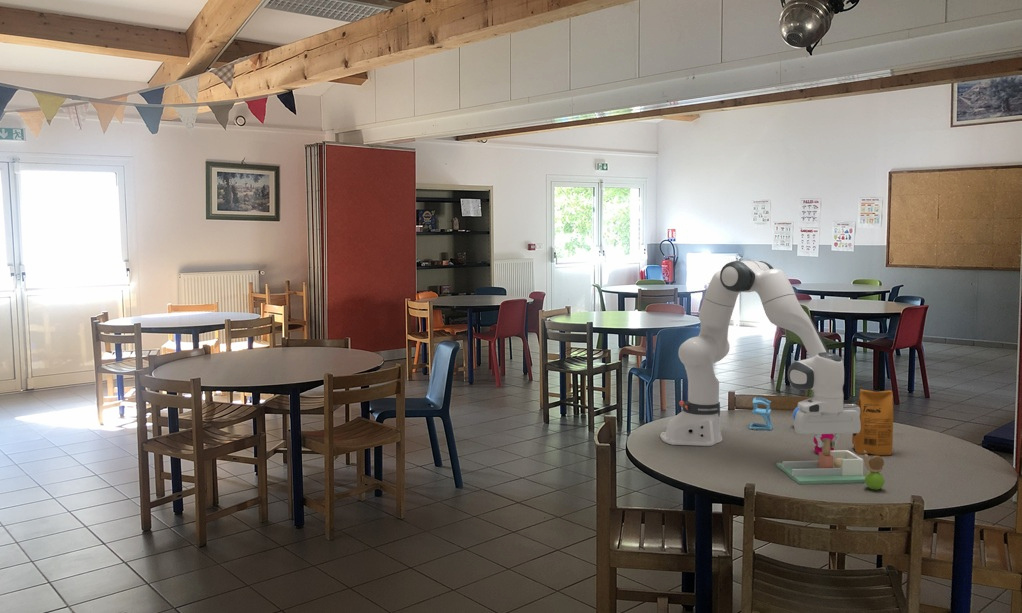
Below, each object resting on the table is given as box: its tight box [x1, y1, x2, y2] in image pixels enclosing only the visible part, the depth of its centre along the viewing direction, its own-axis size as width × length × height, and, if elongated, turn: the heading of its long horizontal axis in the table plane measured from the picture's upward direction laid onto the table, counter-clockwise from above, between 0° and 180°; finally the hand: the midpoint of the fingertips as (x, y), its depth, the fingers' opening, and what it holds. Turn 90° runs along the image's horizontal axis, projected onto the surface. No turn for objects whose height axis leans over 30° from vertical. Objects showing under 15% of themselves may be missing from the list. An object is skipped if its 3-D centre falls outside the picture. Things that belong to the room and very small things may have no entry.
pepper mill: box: [813, 434, 835, 455], centre depth 271 cm, size 7×7×20 cm
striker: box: [817, 438, 834, 468], centre depth 249 cm, size 2×5×10 cm, turn 3°
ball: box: [834, 458, 843, 468], centre depth 249 cm, size 4×4×4 cm
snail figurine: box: [863, 451, 885, 491], centre depth 234 cm, size 5×6×12 cm
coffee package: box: [851, 388, 894, 456], centre depth 271 cm, size 10×12×22 cm
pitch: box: [776, 449, 866, 485], centre depth 249 cm, size 22×18×6 cm
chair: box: [748, 396, 773, 431], centre depth 303 cm, size 8×8×12 cm
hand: (826, 446), depth 248 cm, fingers closed on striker, 2 cm apart
